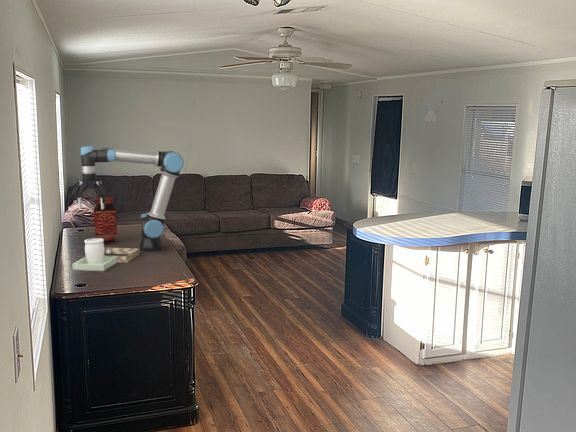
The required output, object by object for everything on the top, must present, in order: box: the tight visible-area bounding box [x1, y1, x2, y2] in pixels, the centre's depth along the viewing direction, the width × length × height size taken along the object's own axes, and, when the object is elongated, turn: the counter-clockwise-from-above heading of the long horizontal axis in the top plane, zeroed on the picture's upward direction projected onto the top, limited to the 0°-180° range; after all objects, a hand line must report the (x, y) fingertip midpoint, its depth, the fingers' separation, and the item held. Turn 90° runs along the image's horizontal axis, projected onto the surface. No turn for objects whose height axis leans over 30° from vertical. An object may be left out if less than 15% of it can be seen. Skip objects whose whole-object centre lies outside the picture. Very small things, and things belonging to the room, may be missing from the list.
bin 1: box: [72, 255, 118, 272], centre depth 326 cm, size 18×18×4 cm
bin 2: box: [104, 247, 141, 264], centre depth 345 cm, size 22×20×4 cm
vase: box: [93, 196, 118, 246], centre depth 380 cm, size 14×14×30 cm
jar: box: [83, 237, 106, 265], centre depth 325 cm, size 11×10×15 cm
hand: (91, 208), depth 339 cm, fingers open, 13 cm apart
